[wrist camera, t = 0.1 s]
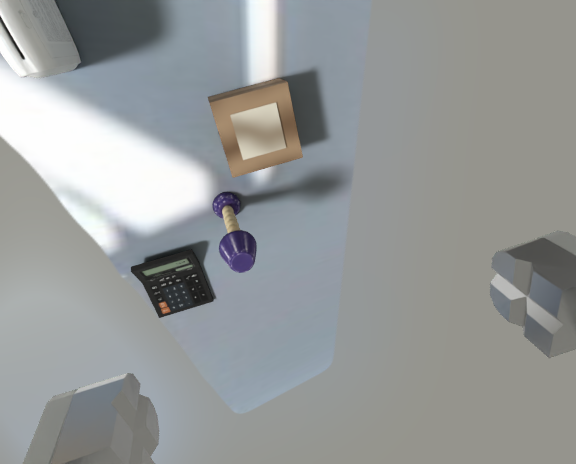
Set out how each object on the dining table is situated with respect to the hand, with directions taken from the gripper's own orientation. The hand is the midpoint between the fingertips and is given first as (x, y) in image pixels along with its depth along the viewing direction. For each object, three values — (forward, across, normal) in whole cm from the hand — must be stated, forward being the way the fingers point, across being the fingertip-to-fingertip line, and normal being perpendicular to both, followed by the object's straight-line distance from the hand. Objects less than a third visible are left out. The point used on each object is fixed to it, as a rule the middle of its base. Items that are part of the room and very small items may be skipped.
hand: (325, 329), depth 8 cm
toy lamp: (+48, +3, +17) cm, 51 cm away
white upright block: (+48, +16, -11) cm, 52 cm away
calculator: (+48, +15, +27) cm, 58 cm away
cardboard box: (+48, -4, +6) cm, 49 cm away
